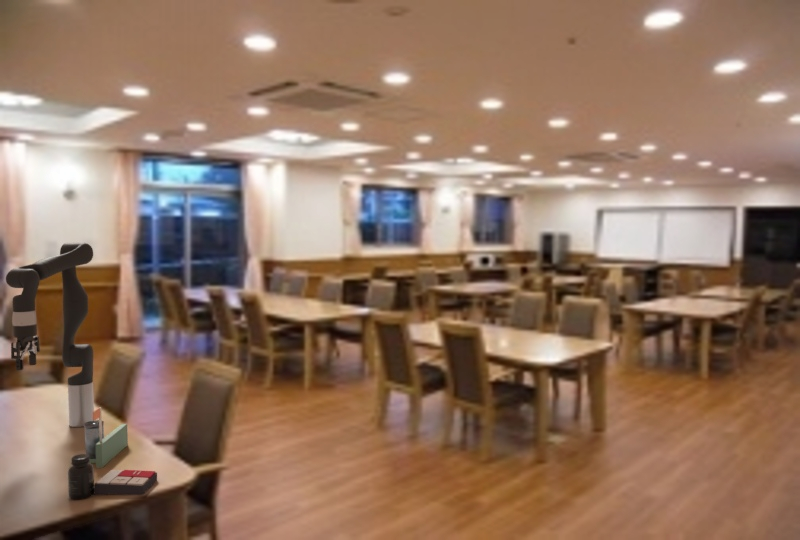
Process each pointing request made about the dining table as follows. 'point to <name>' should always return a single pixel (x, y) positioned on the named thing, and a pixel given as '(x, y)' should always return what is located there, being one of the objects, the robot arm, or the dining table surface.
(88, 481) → the supplement bottle
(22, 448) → the dining table surface
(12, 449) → the dining table surface
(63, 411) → the dining table surface
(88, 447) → the slate canister
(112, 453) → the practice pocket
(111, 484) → the calculator
